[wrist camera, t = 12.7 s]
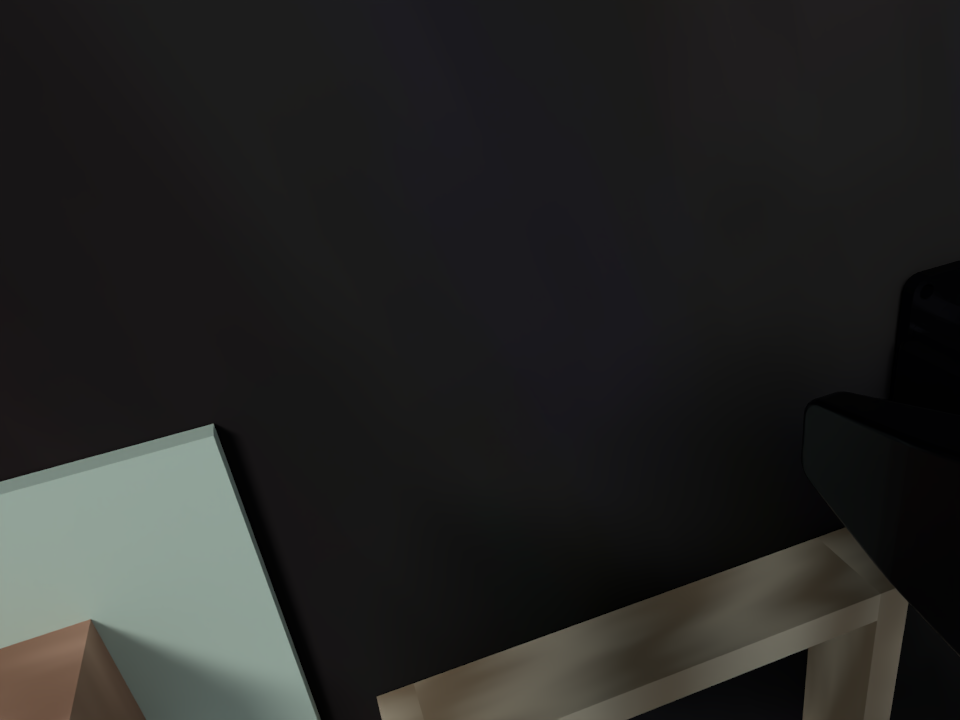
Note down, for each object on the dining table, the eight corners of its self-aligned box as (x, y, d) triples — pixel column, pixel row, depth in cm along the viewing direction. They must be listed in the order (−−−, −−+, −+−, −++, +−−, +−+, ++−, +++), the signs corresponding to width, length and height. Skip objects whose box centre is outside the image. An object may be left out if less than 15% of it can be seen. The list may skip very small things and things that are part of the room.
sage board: (213, 423, 18) (213, 435, 18) (336, 762, 24) (339, 778, 24) (-423, 597, 16) (-445, 617, 15) (-110, 930, 22) (-118, 952, 21)
